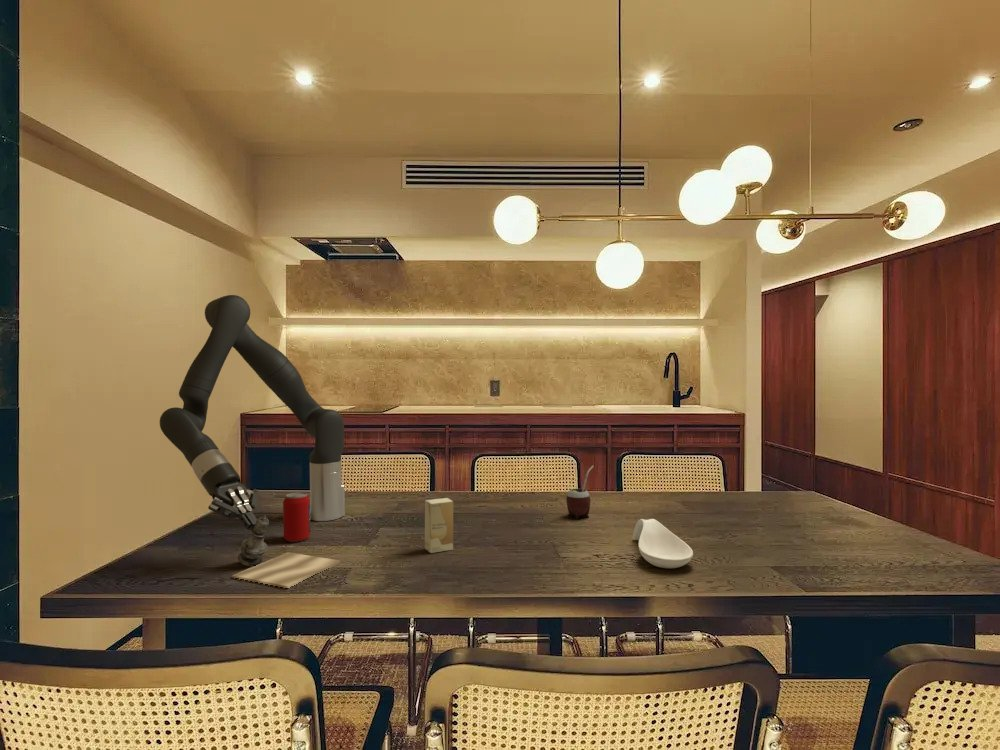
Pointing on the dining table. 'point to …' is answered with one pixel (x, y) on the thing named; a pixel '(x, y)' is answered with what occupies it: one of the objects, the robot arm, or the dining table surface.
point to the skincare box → (438, 525)
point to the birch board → (286, 569)
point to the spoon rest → (661, 545)
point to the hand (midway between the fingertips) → (254, 527)
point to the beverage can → (296, 517)
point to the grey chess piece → (254, 544)
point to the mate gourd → (579, 501)
